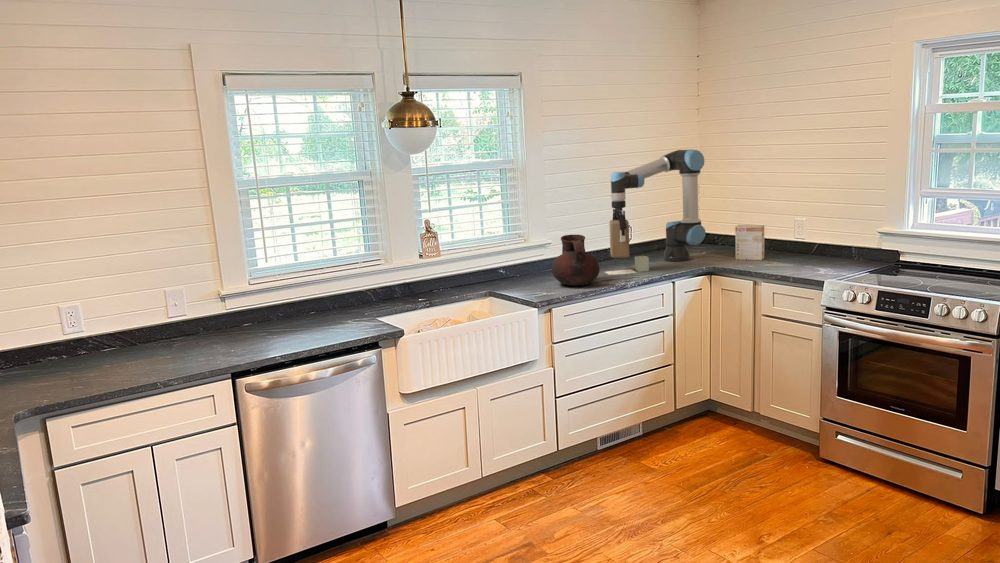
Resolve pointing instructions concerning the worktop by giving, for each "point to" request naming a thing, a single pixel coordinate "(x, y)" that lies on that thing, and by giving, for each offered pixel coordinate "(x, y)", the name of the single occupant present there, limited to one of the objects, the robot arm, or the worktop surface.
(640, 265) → the sage block
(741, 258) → the coffeecake box
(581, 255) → the jug
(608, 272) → the letter
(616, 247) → the wooden block
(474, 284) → the worktop surface
